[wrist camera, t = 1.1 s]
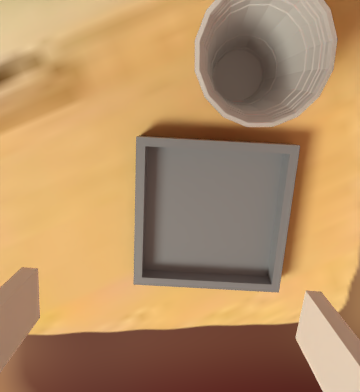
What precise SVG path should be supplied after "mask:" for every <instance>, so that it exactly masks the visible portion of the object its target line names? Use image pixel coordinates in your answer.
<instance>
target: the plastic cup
mask: <svg viewBox="0 0 360 392" xmlns="http://www.w3.org/2000/svg"><path fill="white" fill-rule="evenodd" d="M337 40H338V39H337V35H336V30H335V26H334V22H333V17H332V13H331V9H330V8H329V6H328V5H327V4H326V2H325V1H324V0H215V1H214V2H213V3H212V4H211V6H210V7H209V8H208V9H207V10H206V13H205V15H204V18H203V21H202V23H201V26H200V28H199V31H198V34H197V36H196V39H195V73H196V75H197V78H198V81H199V83H200V86H201V89H202V91H203V94H204V97H205V98H206V99H207V100H208V101H209V103H210V104H211V105H212V106H213V107H214V108H215V109H216V110H217V111H218V112H219V113H220V114H221V115H222V116H223V117H224V118H227V119H229V120H231V121H234V122H236V123H238V124H241V125H243V126H245V127H274V126H276V125H279V124H281V123H284V122H286V121H288V120H291V119H293V118H296V117H298V116H299V115H300V114H301V113H302V112H303V111H304V110H306V109H307V108H308V107H309V106H310V105H311V104H312V103H313V102H314V101H315V100H316V99H317V98H318V97H319V96H320V94H321V92H322V90H323V89H324V87H325V85H326V83H327V81H328V79H329V77H330V75H331V73H332V71H333V68H334V61H335V54H336V47H337Z"/></svg>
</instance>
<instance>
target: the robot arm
mask: <svg viewBox="0 0 360 392" xmlns="http://www.w3.org/2000/svg"><path fill="white" fill-rule="evenodd" d="M39 318H40V310H39V284H38V269H37V268H24V267H22V268H21V269H20V270H19V271H18V272H17V273H15V274H14V275H13V276H12V277H11V278H10V279H9V280H8V281H7V282H6V283H5V284H3V285H2V286H1V287H0V372H1V371H2V369H3V368H4V366H5V365H6V364H7V362H8V361H9V359H10V358H11V357H12V355H13V354H14V353H15V351H16V350H17V348H18V347H19V346H20V344H21V343H22V341H23V340H24V339H25V337H26V336H27V335H28V333H29V332H30V330H31V329H32V328H33V326H34V325H35V323H36V322H37V321H38V319H39ZM296 340H297V342H298V344H299V346H300V348H301V350H302V352H303V354H304V355H305V358H306V359H307V361H308V363H309V365H310V367H311V369H312V371H313V373H314V375H315V377H316V379H317V381H318V383H319V385H320V387H321V389H322V391H323V392H360V340H359V339H358V337H357V336H356V335H355V334H354V332H353V331H352V330H351V329H350V328H349V326H348V325H347V324H346V322H345V321H344V320H343V319H342V318H341V316H340V315H339V314H338V312H337V311H336V310H335V309H334V307H333V306H332V305H331V303H330V302H329V301H328V300H327V298H326V297H325V296H324V295H323V293H322V292H317V291H306V292H305V296H304V301H303V306H302V310H301V315H300V320H299V325H298V329H297V334H296Z"/></svg>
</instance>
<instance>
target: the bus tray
mask: <svg viewBox="0 0 360 392" xmlns="http://www.w3.org/2000/svg"><path fill="white" fill-rule="evenodd" d="M299 150H300V145H295V144H284V143H265V142H247V141H229V140H211V139H192V138H174V137H156V136H137V137H136V187H135V241H134V284H136V285H154V286H172V287H190V288H208V289H226V290H245V291H263V292H279V288H280V281H281V274H282V267H283V260H284V253H285V246H286V240H287V233H288V226H289V219H290V212H291V205H292V198H293V192H294V185H295V178H296V171H297V164H298V157H299Z"/></svg>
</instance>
